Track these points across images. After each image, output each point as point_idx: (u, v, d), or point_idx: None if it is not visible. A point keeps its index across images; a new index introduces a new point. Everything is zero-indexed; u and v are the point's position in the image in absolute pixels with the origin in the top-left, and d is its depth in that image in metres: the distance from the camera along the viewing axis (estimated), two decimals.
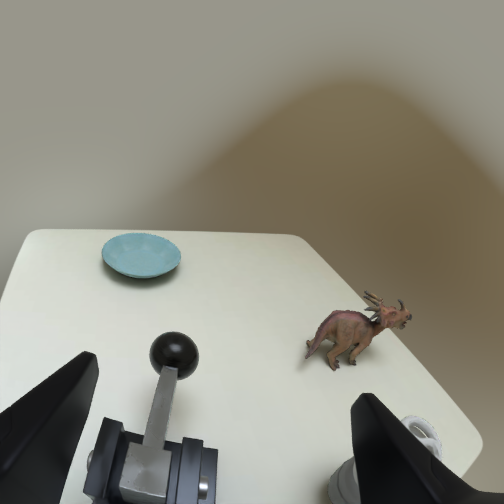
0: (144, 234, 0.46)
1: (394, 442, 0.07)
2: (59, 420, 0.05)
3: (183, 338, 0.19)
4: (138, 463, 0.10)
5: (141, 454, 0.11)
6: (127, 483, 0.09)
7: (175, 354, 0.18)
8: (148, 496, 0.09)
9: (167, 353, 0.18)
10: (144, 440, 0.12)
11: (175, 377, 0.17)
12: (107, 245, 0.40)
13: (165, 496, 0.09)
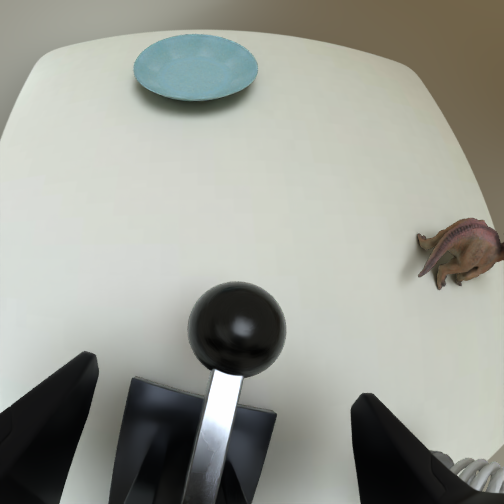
0: (203, 35, 0.25)
1: (394, 442, 0.07)
2: (59, 420, 0.05)
3: (262, 319, 0.09)
4: None
5: None
6: None
7: (241, 358, 0.09)
8: None
9: (224, 355, 0.09)
10: None
11: (236, 400, 0.09)
12: (144, 54, 0.23)
13: None
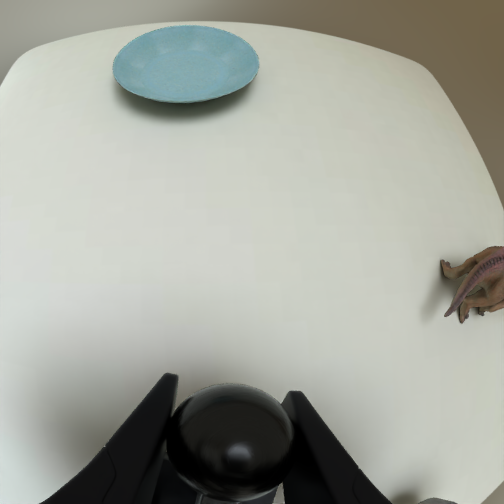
0: (196, 27, 0.21)
1: (311, 449, 0.06)
2: (158, 450, 0.06)
3: (266, 455, 0.05)
4: None
5: None
6: None
7: (237, 495, 0.05)
8: None
9: (215, 491, 0.05)
10: None
11: None
12: (127, 49, 0.19)
13: None
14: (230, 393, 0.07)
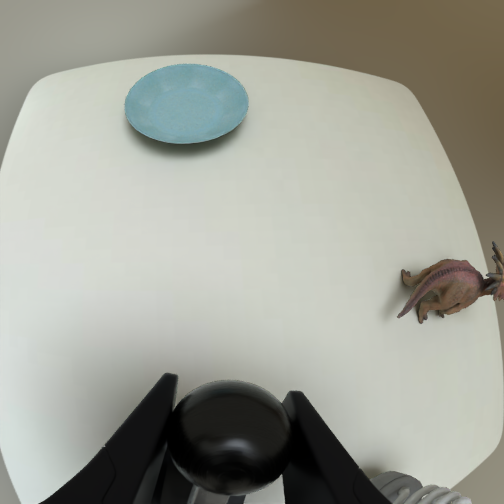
0: (194, 65, 0.27)
1: (311, 449, 0.06)
2: (158, 450, 0.06)
3: (254, 479, 0.05)
4: None
5: None
6: None
7: None
8: None
9: None
10: None
11: (225, 501, 0.07)
12: (135, 89, 0.24)
13: None
14: (227, 414, 0.06)
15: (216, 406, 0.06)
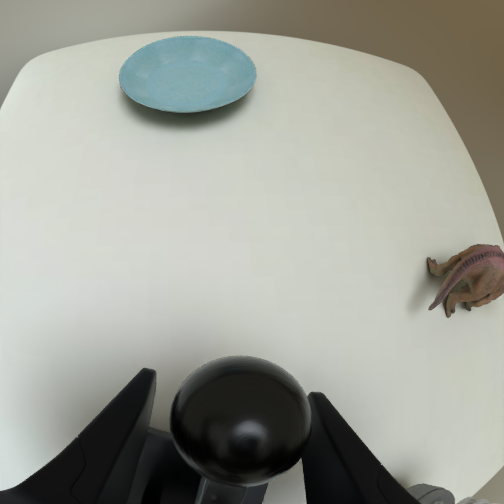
0: (197, 38, 0.23)
1: (336, 448, 0.06)
2: (131, 444, 0.06)
3: (277, 445, 0.05)
4: None
5: None
6: None
7: (244, 483, 0.05)
8: None
9: (220, 478, 0.05)
10: None
11: None
12: (132, 60, 0.21)
13: None
14: (241, 371, 0.06)
15: (228, 366, 0.06)
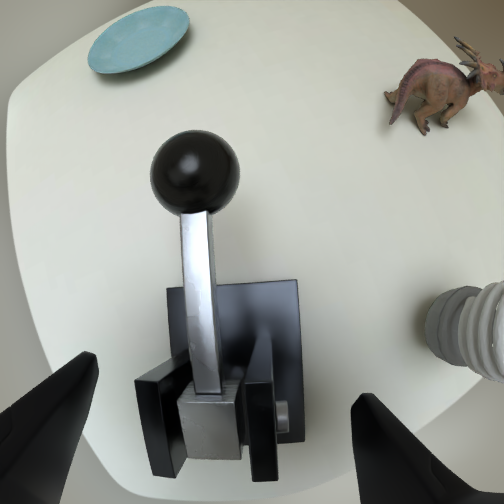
0: (134, 13, 0.24)
1: (394, 442, 0.07)
2: (59, 420, 0.05)
3: (197, 153, 0.10)
4: (198, 428, 0.10)
5: (197, 416, 0.10)
6: (195, 453, 0.10)
7: (192, 194, 0.10)
8: (222, 455, 0.10)
9: (178, 196, 0.10)
10: (194, 378, 0.10)
11: (206, 235, 0.11)
12: (93, 50, 0.24)
13: (240, 457, 0.10)
14: (177, 134, 0.11)
15: (172, 137, 0.11)
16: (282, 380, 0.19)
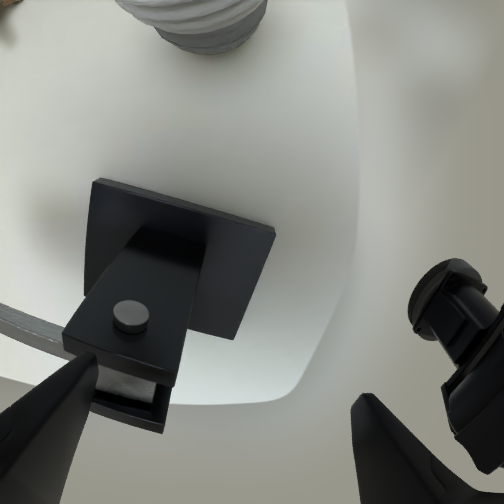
0: None
1: (394, 442, 0.07)
2: (59, 420, 0.05)
3: None
4: (117, 387, 0.10)
5: (104, 383, 0.10)
6: (146, 397, 0.11)
7: None
8: None
9: None
10: None
11: None
12: None
13: None
14: None
15: None
16: (188, 231, 0.18)
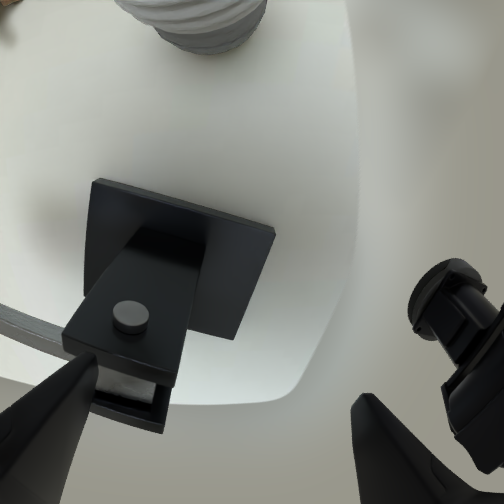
0: None
1: (394, 442, 0.07)
2: (59, 420, 0.05)
3: None
4: (117, 387, 0.10)
5: (104, 383, 0.10)
6: (146, 398, 0.11)
7: None
8: None
9: None
10: None
11: None
12: None
13: None
14: None
15: None
16: (187, 231, 0.18)
